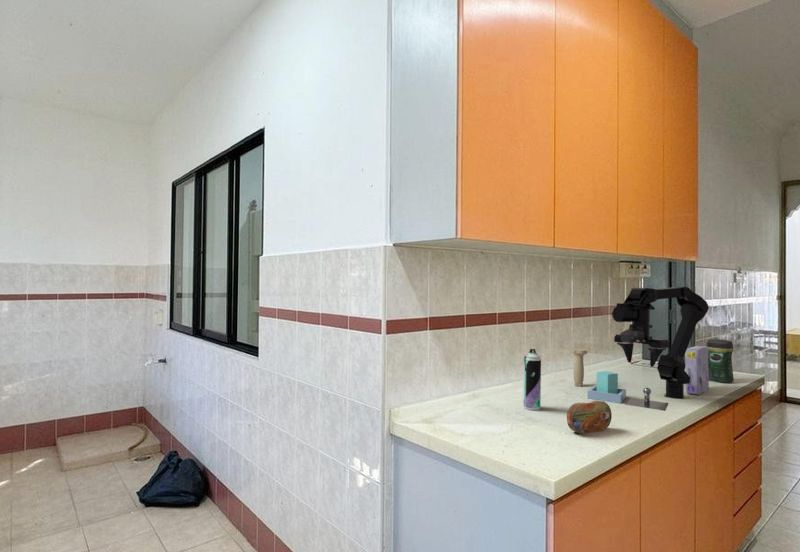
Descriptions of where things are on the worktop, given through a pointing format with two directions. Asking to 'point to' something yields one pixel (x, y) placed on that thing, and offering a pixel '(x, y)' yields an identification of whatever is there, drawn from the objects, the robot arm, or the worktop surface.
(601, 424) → the tin
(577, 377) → the handle
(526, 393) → the spray can
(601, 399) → the bin
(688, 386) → the cake pan box
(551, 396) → the worktop surface
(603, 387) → the turquoise rectangular block
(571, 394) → the worktop surface
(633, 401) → the ball stud
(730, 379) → the coffee jar
